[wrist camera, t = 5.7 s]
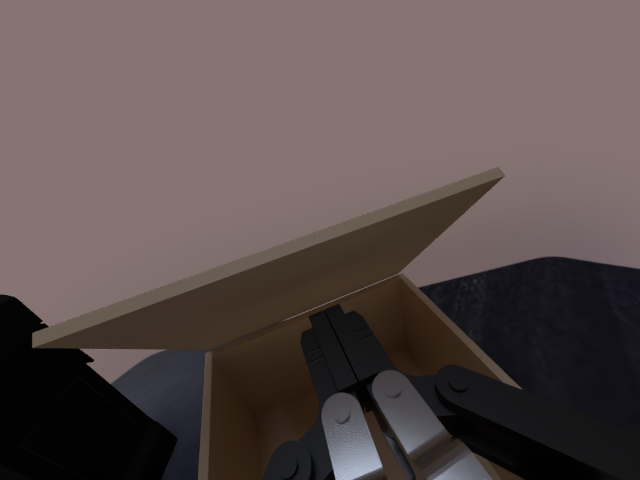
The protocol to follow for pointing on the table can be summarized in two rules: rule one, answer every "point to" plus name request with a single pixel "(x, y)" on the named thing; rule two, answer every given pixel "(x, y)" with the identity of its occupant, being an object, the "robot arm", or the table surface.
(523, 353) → the table surface
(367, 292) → the kraft carton
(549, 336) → the table surface
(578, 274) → the table surface
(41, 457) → the portable radio
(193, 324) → the carton flap
